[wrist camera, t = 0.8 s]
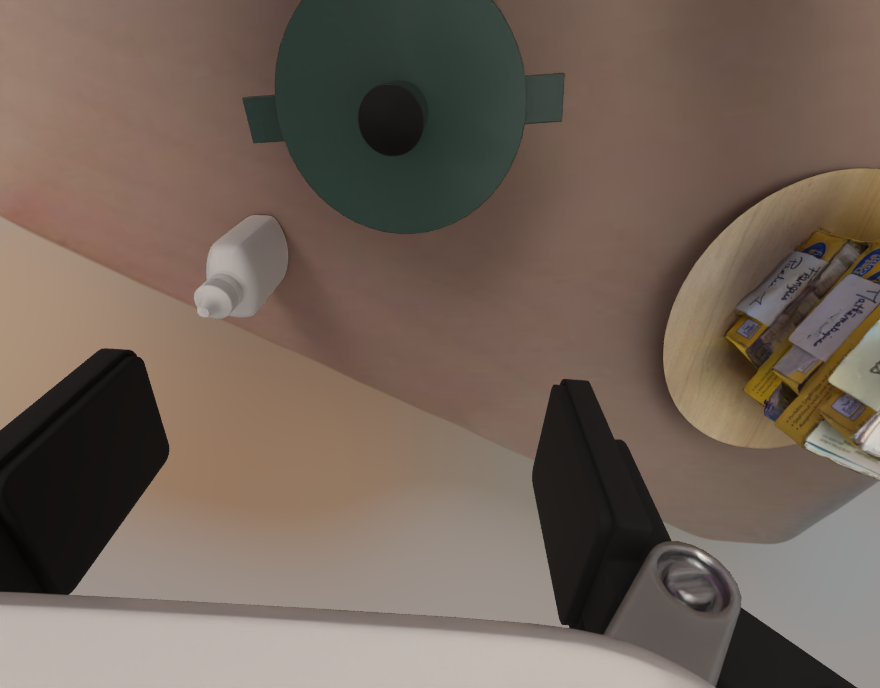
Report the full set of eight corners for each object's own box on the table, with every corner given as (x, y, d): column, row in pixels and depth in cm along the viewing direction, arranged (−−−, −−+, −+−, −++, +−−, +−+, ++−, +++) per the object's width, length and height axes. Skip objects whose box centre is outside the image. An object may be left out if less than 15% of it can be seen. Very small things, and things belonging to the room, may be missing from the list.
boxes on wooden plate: (876, 91, 33) (1211, 112, 18) (1005, 307, 41) (1307, 439, 26) (594, 324, 42) (667, 457, 28) (743, 461, 50) (860, 619, 36)
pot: (265, 2, 31) (207, -18, 23) (544, -23, 30) (575, -50, 22) (306, 198, 37) (270, 232, 30) (536, 183, 36) (559, 214, 29)
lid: (252, -32, 24) (194, -61, 18) (527, -57, 23) (550, -94, 18) (309, 234, 30) (279, 270, 25) (521, 221, 30) (536, 256, 24)
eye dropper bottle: (232, 261, 40) (156, 330, 30) (254, 204, 37) (179, 257, 27) (280, 286, 41) (223, 361, 31) (305, 231, 38) (252, 293, 28)
